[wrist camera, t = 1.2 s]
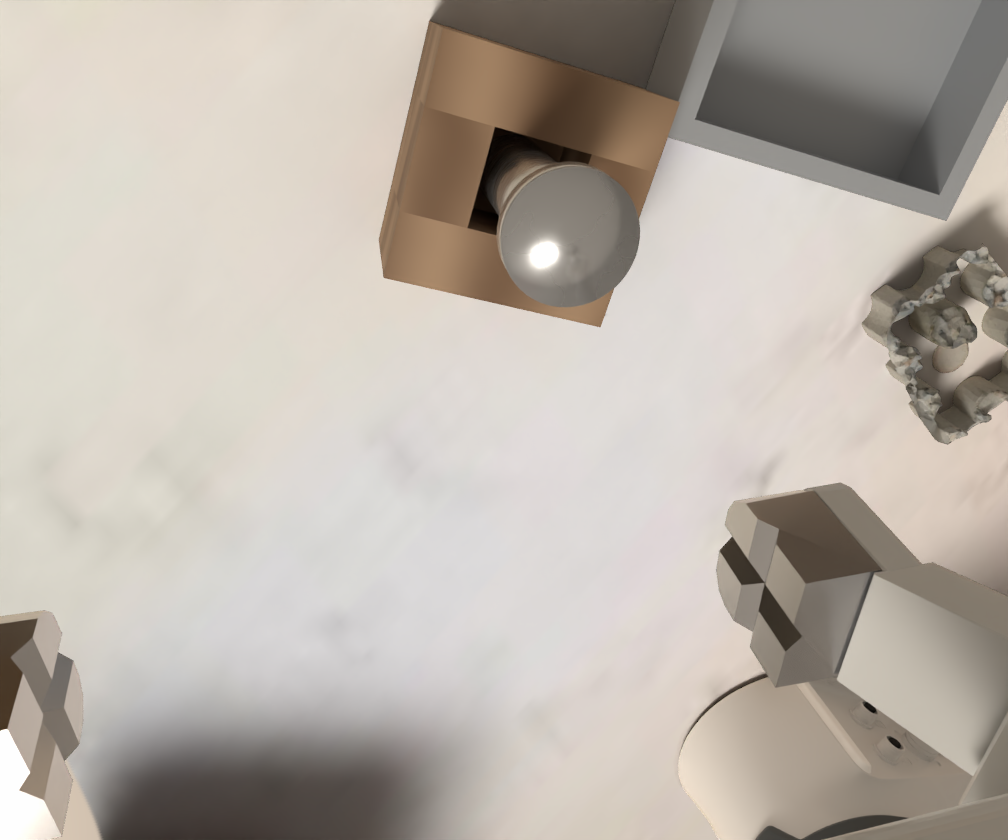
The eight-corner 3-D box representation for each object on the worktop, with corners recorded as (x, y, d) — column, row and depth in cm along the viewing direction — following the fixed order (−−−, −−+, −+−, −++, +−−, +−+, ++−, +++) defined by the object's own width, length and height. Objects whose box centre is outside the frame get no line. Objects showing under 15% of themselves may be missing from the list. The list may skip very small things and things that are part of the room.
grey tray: (1045, -123, 39) (1125, -134, 35) (893, 199, 45) (946, 221, 41) (760, -252, 35) (813, -281, 31) (634, 121, 41) (665, 136, 37)
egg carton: (1018, 362, 51) (1069, 391, 48) (909, 433, 52) (950, 466, 49) (964, 221, 46) (1016, 242, 43) (844, 302, 47) (885, 329, 44)
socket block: (636, 85, 40) (679, 102, 35) (569, 285, 44) (600, 327, 39) (429, 20, 37) (443, 27, 32) (378, 239, 41) (383, 277, 36)
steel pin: (575, 131, 39) (660, 188, 29) (543, 232, 41) (612, 320, 30) (474, 102, 38) (525, 150, 27) (447, 207, 40) (484, 290, 29)
